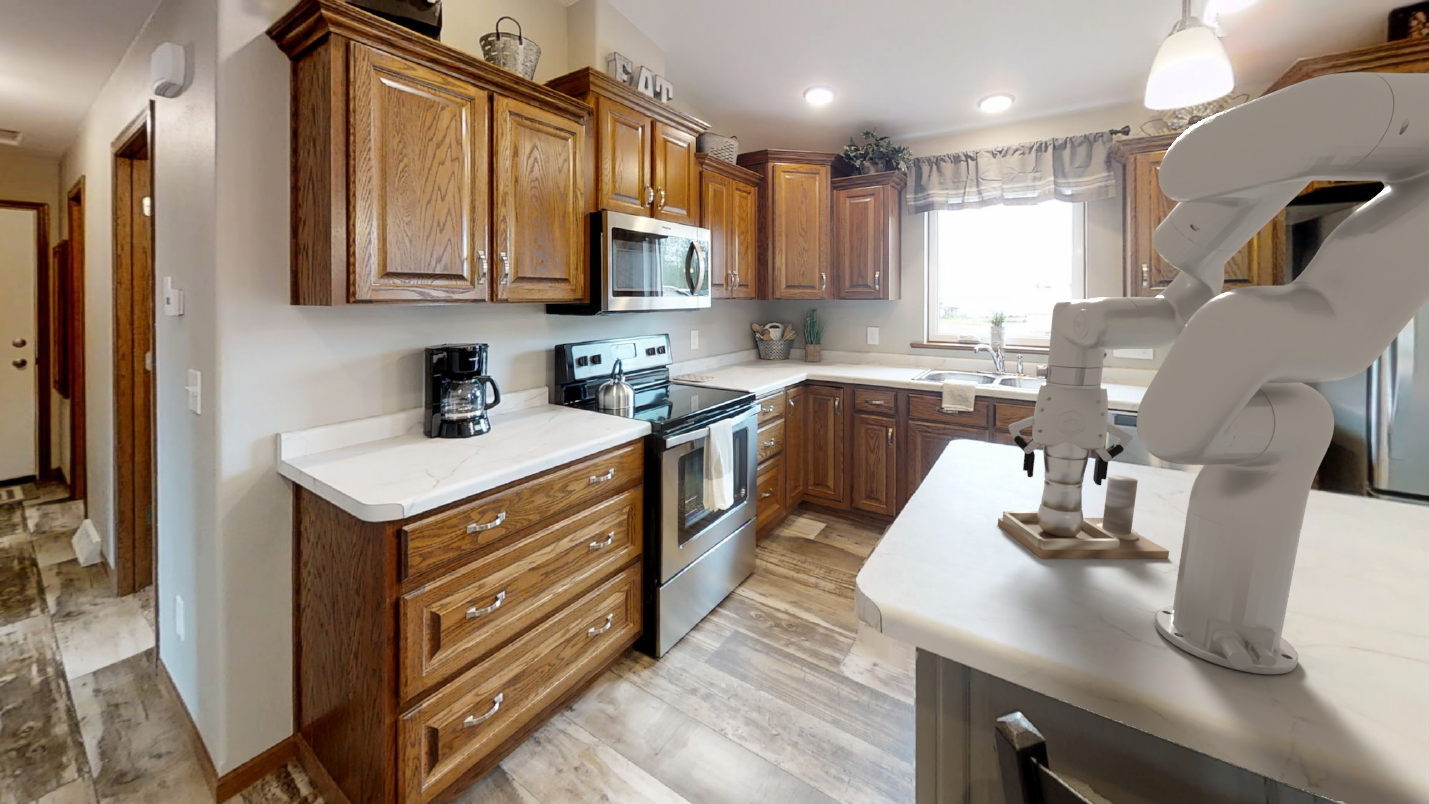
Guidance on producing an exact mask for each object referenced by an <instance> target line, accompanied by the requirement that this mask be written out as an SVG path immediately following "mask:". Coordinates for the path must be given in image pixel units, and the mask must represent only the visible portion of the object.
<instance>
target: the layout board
mask: <svg viewBox="0 0 1429 804" xmlns="http://www.w3.org/2000/svg"><path fill="white" fill-rule="evenodd" d="M1138 482H1139V481H1138V479H1136V478H1134V477H1131V476H1126V475H1118V474H1113V475H1108V476H1107V485H1106V493H1105V500H1104V501H1105V502H1104V509H1103V516H1102V517H1083V522H1084V523H1083V526H1082V530H1081V532H1080V533H1079V534H1078V535H1076V536H1073V537H1062V536H1056V535H1052V534H1049V533H1046V532H1044V531H1043V530H1041V528H1040V526H1039V525H1038V519H1037V514H1038V511H1036V510H1033V511H1031V510H1029V511H1026V510H1025V511H1024V510H1023V511H1022V510H1021V511H1018V510H1017V511H1016V510H1015V511H1006V510H1005V511H1003V512H1002V517H998V518H997V525H998V527H1000V528H1002V529H1003V530H1004V531H1005V532H1007V533H1008V534H1009V535H1010V536H1012V537H1013V538H1014V539H1015V540H1017V541H1018V542H1019V543H1021V544H1022V545H1023V546H1024V547H1026V548H1027V549H1028V550H1029V551H1030V552H1032V553H1033V554H1035V555H1036V556H1037V557H1039V558H1040V559H1047V560H1048V559H1169V555H1170V551H1169V550H1168V549H1166V548H1164V547H1162V546H1161V545H1159V544H1157V543H1156V542H1153V541H1151V539H1148V538H1146V537H1144V536H1142V535H1140V533H1139V532H1138V531H1137V530H1135V529H1133V528H1132V527H1133V519H1134V512H1135V504H1136V498H1137V490H1138Z"/></svg>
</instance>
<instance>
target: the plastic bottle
mask: <svg viewBox="0 0 1429 804" xmlns="http://www.w3.org/2000/svg"><path fill="white" fill-rule="evenodd" d="M1042 446H1043V448H1042V451H1043V452H1042V453H1043V463H1044V474H1043V475H1044V476H1043V478H1044V481H1043V483H1044V485H1043V490H1042V496H1041V502H1040V504H1039V507H1038V514H1037V519H1038V525H1039V526H1040V528H1041V530H1043V531H1044V532H1046V533H1049V534H1052V535H1056V536H1062V537H1073V536H1076V535H1078V534H1079V533H1080V532H1081V530H1082V526H1083V523H1084V522H1083V518H1084V514H1083V513H1084V512H1083V503H1082V502H1083V500H1082V499H1083V497H1082V496H1083V483H1084V478H1085V473H1086V469H1087V465H1088V462H1089V457H1090V453H1091V450H1086V449H1082V448H1079V447H1078V446H1076V445H1075V444H1073V443H1069V442H1065V443H1061V444H1059V445H1057V446H1044V445H1042Z"/></svg>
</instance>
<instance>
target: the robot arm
mask: <svg viewBox="0 0 1429 804" xmlns="http://www.w3.org/2000/svg"><path fill="white" fill-rule="evenodd" d="M1313 181H1324V182H1325V181H1328V182H1329V181H1331V182H1334V181H1339V182H1341V181H1342V182H1344V181H1346V182H1351V181H1352V182H1363V181H1364V182H1365V181H1368V182H1370V181H1371V182H1376V181H1377V182H1381V183H1382V184H1383V185H1384V186H1383V189H1382V191H1381V192H1379V193H1378V194H1377V195H1376V196H1375V197H1373V198H1372V199H1371V200H1369V201H1368V202H1366V203H1365V204H1363V205H1362V206H1361V207H1359V208H1358V209H1356V210H1355V211H1354V212H1353V213H1351V214H1350V215H1348V217H1346V218H1345V219H1344V220H1342V222H1340V223H1339V224H1338V225H1337V226H1336V227H1335V228H1334V229H1333V231H1331V233H1330V234H1329V235H1328V236H1327V237H1326V238H1325V240H1324V241H1323V242H1322V243H1321V245H1320V247H1319V249H1318V250H1317V252H1316V254H1315V255H1314V256H1313V258H1312V259H1311V261H1310V262H1309V263H1308V265H1307V266H1306V267H1305V268H1304V270H1303V271H1302V272H1301V273H1300V274H1299V275H1298V276H1297V277H1296V278H1295V279H1294V280H1293V281H1291V282H1290V283H1288V284H1285V285H1251V286H1242V287H1238V288H1234V289H1231V290H1228V291H1225V292H1223V293H1222V289H1223V286H1224V282H1225V265H1226V263H1228V261H1230V259H1231V258H1233V256H1235V255H1236V254H1237V253H1238V252H1239V251H1240V250H1242V248H1243V247H1244V246H1245V245H1246V244H1248V242H1249V241H1250V240H1251V239H1253V238H1254V237H1255V235H1257V234H1258V233H1259V232H1260V231H1261V230H1262V229H1263V228H1264V227H1265V226H1266V225H1267V224H1269V223H1270V221H1271V220H1273V219H1274V218H1275V217H1276V216H1277V215H1278V214H1279V213H1280V212H1281V211H1282V210H1284V208H1285V207H1286V206H1287V205H1289V203H1290V202H1292V201H1293V200H1294V199H1295V197H1296V198H1297V196H1298V195H1299V194H1300V193H1301V192H1302V191H1304V189H1305V188H1307V186H1308V185H1309V184H1310V183H1311V182H1313ZM1158 185H1159V187H1160V190H1161V192H1162V193H1163V194H1164V195H1165V197H1167V198H1169V199H1170V200H1172V201H1175V202H1178V203H1177V204H1176V205H1175V206H1174V208H1173V209H1172V210H1171V211H1170V212H1169V214H1168V215H1167V216H1166V217H1165V218H1164V220H1163V221H1161V223H1159V224H1158V226H1157V227H1156V229H1155V230H1154V232H1153V235H1152V244H1153V247H1154V249H1155V251H1156V252H1157V253H1158V255H1159V256H1160V257H1161V258H1162V259H1163V260H1164V261H1165V263H1167V264H1169V265H1170V266H1172V267H1173V268H1174V269H1177V270H1179V271H1180V272H1178V275H1177V276H1176V277H1175V278H1174V279H1173V280H1172V281H1171V282H1170V283H1169V284H1168V285H1167V286H1166V287H1165V288H1164V290H1162V291H1161V292H1160V293H1159V294H1158V295H1156V296H1121V297H1119V296H1118V297H1116V296H1115V297H1094V298H1087V299H1086V298H1085V299H1084V298H1082V299H1077V298H1076V299H1073V298H1071V299H1063V300H1062V299H1061V300H1059V301H1058V302H1057V303H1056V304H1054V307H1053V309H1052V318H1051V329H1050V339H1049V347H1048V349H1049V350H1048V359H1047V361H1048V362H1047V365H1046V366H1045V367H1041V368H1039V367H1038V368H1037V369H1036V377H1041V378H1044V379H1045V380H1046V381H1045V382H1043V383H1042V382H1041V384H1040V386H1039V390H1038V394H1037V399H1036V402H1035V408H1034V413H1033V415H1032V416H1030V417H1026V418H1024V419H1021V420H1017V421H1016V422H1013V423H1011V424H1009V425H1008V430H1009V431H1008V432H1009V433H1010V435H1011V437H1012V439H1013V441H1014V443H1015V444H1016V445H1017V446H1018V447H1019V448H1020V449H1021V450H1022V451H1023V452H1024V454H1023V455H1024V457H1023V465H1022V466H1023V467H1022V471H1025V472H1026V474H1027V478H1032V477H1034V467H1035V458H1036V457H1035V456H1036V455H1035V452H1034V451H1035V450H1036V449H1037V448H1039V447H1040V446H1057V445H1059V444H1061V443H1065V442H1069V443H1073V444H1075V445H1076V446H1078V447H1079V448H1082V449H1086V450H1089V451H1095V452H1096V453H1097V457H1095V461H1094V469H1093V477H1092V478H1093V481H1094V484H1095V485H1096V486H1101V485H1102V482H1103V480H1107V478H1108V476H1107V475H1108V468H1109V467H1108V466H1109V462H1111V461H1112V459H1113V458H1115V457H1117V456H1118V455H1120V454H1121V453H1123V452H1124V449H1125V448H1126V447H1127V446H1129V443H1130V442H1131V441H1132V440H1133V435H1132V434H1130V432H1127V431H1125V430H1123V429H1121V428H1119V427H1117V426H1115V424H1114V425H1113V424H1112V423H1109V422H1108V421H1109V400H1108V390H1107V387H1105V386H1102V385H1101V384H1102V376H1103V367H1104V359H1105V350H1155V349H1160V348H1164V347H1167V346H1169V345H1172V344H1173V345H1172V346H1171V348H1170V350H1169V352H1168V353H1167V355H1166V357H1165V358H1164V360H1163V362H1162V364H1161V365H1160V367H1159V369H1158V370H1157V372H1156V374H1155V375H1154V377H1153V379H1152V380H1151V382H1150V383H1149V386H1148V387H1147V389H1146V390H1145V392H1144V395H1143V396H1142V398H1141V401H1140V403H1139V406H1138V410H1137V413H1136V432H1137V437H1138V440H1139V442H1141V445H1142V446H1143V448H1144V449H1145V450H1146V451H1147V453H1150V454H1151V455H1152V456H1153V457H1155V458H1156V459H1159V460H1161V461H1163V462H1167V463H1169V464H1170V463H1171V464H1174V465H1182V466H1183V465H1186V466H1187V465H1188V466H1202V468H1200V471H1199V472H1198V474H1197V475H1196V478H1195V479H1194V482H1193V484H1192V487H1191V490H1190V494H1189V500H1188V506H1187V512H1186V517H1185V523H1184V524H1185V525H1184V531H1183V537H1182V545H1181V552H1180V558H1179V565H1178V573H1177V579H1176V586H1175V590H1174V591H1175V593H1174V597H1173V598H1174V600H1173V605H1171V606H1170V605H1169V606H1167V607H1163V608H1160V609H1159V610H1157V612H1156V613H1155V618H1154V624H1155V625H1154V626H1155V628H1156V629H1157V631H1158V632H1159V634H1161V635H1162V636H1163V637H1164V638H1165V639H1166V640H1168V641H1169V642H1170V643H1172V644H1173V645H1174V646H1175V647H1178V648H1179V649H1181V650H1183V651H1185V652H1186V653H1189V654H1191V655H1193V656H1195V657H1197V658H1200V659H1201V660H1204V661H1207V662H1209V663H1213V664H1215V665H1219V666H1221V667H1225V668H1229V669H1233V670H1236V671H1241V672H1246V673H1251V674H1258V675H1259V674H1262V675H1279V674H1287V673H1289V672H1293V670H1295V669H1296V667H1297V665H1298V660H1299V653H1298V651H1297V650H1296V649H1295V647H1294V646H1293V645H1292V644H1291V643H1289V642H1288V640H1286V639H1285V638H1283V637H1282V635H1283V629H1284V624H1285V617H1286V612H1287V608H1288V601H1289V597H1290V590H1291V585H1292V580H1293V575H1294V569H1295V565H1296V564H1295V563H1296V557H1297V552H1298V547H1299V542H1300V537H1301V532H1302V531H1301V530H1302V528H1303V523H1304V519H1305V518H1304V517H1305V513H1306V507H1307V502H1308V499H1309V495H1310V492H1311V488H1312V484H1313V482H1314V479H1315V477H1316V474H1317V471H1318V470H1319V467H1320V466H1321V463H1322V461H1323V459H1324V457H1325V455H1326V453H1327V451H1328V448H1329V447H1330V445H1331V441H1332V439H1333V435H1334V430H1335V429H1334V427H1335V417H1334V413H1333V409H1332V407H1331V405H1330V403H1329V402H1328V400H1327V398H1325V397H1324V396H1323V395H1322V394H1321V393H1320V392H1319V391H1318V390H1316V389H1315V388H1313V387H1312V386H1310V385H1308V384H1306V383H1323V382H1324V383H1326V382H1333V381H1334V382H1336V381H1340V380H1345V379H1349V378H1352V377H1355V376H1356V375H1358V374H1360V373H1362V372H1364V371H1365V370H1367V369H1368V368H1370V366H1372V364H1374V363H1375V362H1376V361H1377V360H1378V359H1379V358H1380V357H1381V355H1382V354H1383V353H1384V352H1385V351H1386V349H1387V348H1388V347H1389V346H1390V345H1391V344H1392V342H1393V341H1394V340H1395V339H1396V338H1397V337H1398V336H1399V334H1400V333H1401V332H1402V331H1403V330H1404V329H1405V327H1406V326H1407V325H1408V324H1409V323H1410V321H1411V320H1412V319H1413V318H1414V317H1415V315H1416V314H1418V312H1419V311H1420V310H1421V308H1423V306H1424V305H1425V304H1426V303H1427V301H1428V300H1429V72H1428V73H1427V72H1425V73H1424V72H1421V73H1420V72H1419V73H1418V72H1415V73H1414V72H1413V73H1412V72H1411V73H1408V72H1407V73H1405V72H1404V73H1401V72H1368V71H1367V72H1365V71H1360V72H1357V71H1355V72H1354V71H1353V72H1339V73H1331V74H1325V75H1319V76H1315V77H1312V78H1309V79H1306V80H1302V81H1300V82H1297V83H1293V84H1292V85H1289V86H1286V87H1284V88H1281V89H1278V90H1275V91H1273V92H1271V93H1268V94H1265V95H1262V96H1261V97H1257V98H1253V99H1252V100H1250V101H1246V102H1243V103H1241V104H1238V105H1236V106H1234V107H1231V108H1228V109H1225V110H1223V111H1221V112H1217V113H1215V114H1213V115H1210V116H1208V117H1206V118H1204V119H1202V120H1201V121H1198V122H1197V123H1195V124H1193V125H1192V126H1190V127H1189V128H1188V129H1186V130H1185V131H1184V132H1183V133H1182V134H1181V135H1180V136H1178V137H1177V138H1176V139H1175V141H1174V142H1173V143H1172V144H1171V146H1170V147H1169V148H1168V150H1167V151H1166V153H1165V154H1164V156H1163V157H1162V160H1161V162H1160V166H1159V170H1158ZM1031 426H1032V427H1031ZM1029 427H1031V430H1032V431H1031V433H1032V434H1031V435H1032V437H1031V438H1030V439H1029V440H1026V439H1024V437H1023V436H1022V435H1021V433H1020V431H1021V430H1023V429H1026V428H1029ZM1108 433H1109V434H1111V435H1113V436H1115V437H1116V438H1118V439H1117V440H1116V442H1115V443H1114V444H1112V445H1111V446H1109V447H1108V448H1105V446H1106V442H1107V438H1108V437H1107V435H1108Z"/></svg>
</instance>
